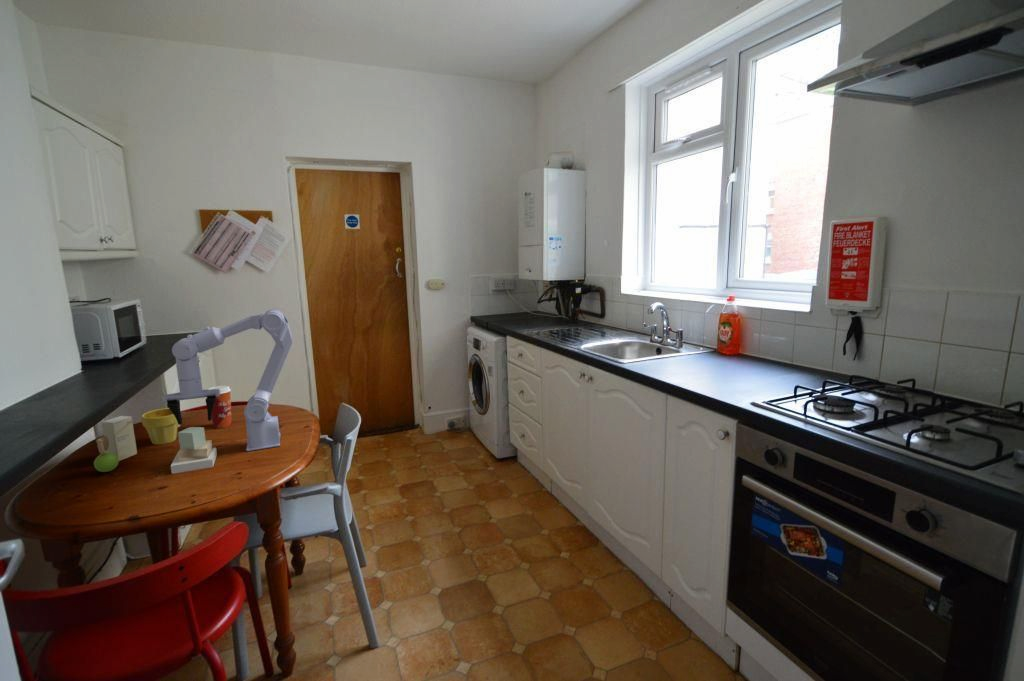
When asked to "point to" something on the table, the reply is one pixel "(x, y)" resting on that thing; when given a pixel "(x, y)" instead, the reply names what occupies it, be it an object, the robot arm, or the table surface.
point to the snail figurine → (105, 456)
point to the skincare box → (120, 436)
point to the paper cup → (222, 408)
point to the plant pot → (160, 425)
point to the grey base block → (193, 463)
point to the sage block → (192, 438)
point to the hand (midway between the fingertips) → (195, 421)
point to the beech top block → (196, 452)
